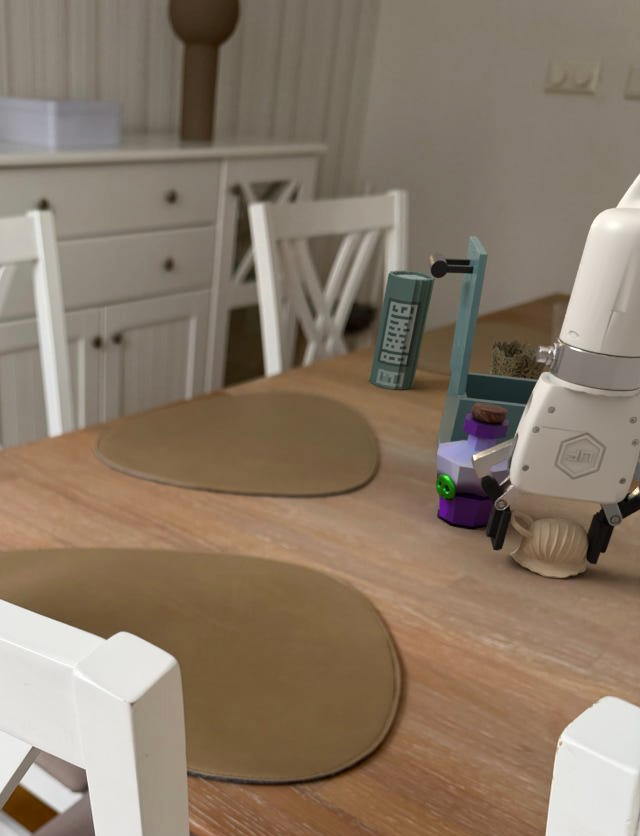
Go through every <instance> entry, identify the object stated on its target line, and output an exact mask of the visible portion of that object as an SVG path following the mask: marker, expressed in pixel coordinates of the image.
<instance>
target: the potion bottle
mask: <svg viewBox="0 0 640 836" xmlns="http://www.w3.org/2000/svg"><path fill="white" fill-rule="evenodd" d="M507 412H508V411H507V410H506V409H505V408H503V407H500V406H497V405H493V404H487V403H475V404H474V406H473V408H472V410H471V413H468V414H466V418H465V423H464V428H463V431H464V432H466V433H468V434H469V437H468V441H466V440H462V441H454V442H447V443H440V444H439V448H438V447H437V453H436V480H435V481H436V482H435V487H436V488H435V489H436V493H437V494H438V496H439V502H438V503H439V506H438V510H437V514H436V518H437V519H439V520H440V521H443V522H444V523H446V524H447V525H449V526H451V527H457V528H461V529H467V530H476V529H481V528H482V529H483V528H487V525H488V521H489V517H490V514H491V510H492V506H493V502H492V501H491V500H490V498H489V497H488V495H487V494H486V493H485V491H484V490H483V489H482V487H481V484H480V482H479V479H478V477H477V475H476V472H475V470H474V468H473V465H472V461H471V458H472V456H473V455H475V454H477V453H480V452H482V451H484V450H487V449H489V448H491V447H494V446H496V442H497V439H499V438H505V437H506V433H507V429H508V424H509V420H507V419H505V418H506V415H507ZM507 460H508V459H506V460H504V461H502V462H499V463H497V464H495V465H493V466H492V467H491V468H490V471H491V473H492V475H493V476H494V478H495V479H496V481H497V482H498V483H499V484H500V483H501V482H502V481H503V480H505V479H506V478H507V477H508V476H509V475H510V473H509V472H508V471H507Z"/></svg>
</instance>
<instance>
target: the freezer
mask: <svg viewBox="0 0 640 836" xmlns="http://www.w3.org/2000/svg"><path fill="white" fill-rule="evenodd" d="M537 381H538V380H535V379H526V378H517V377H508V376H499V375H490V373H481V372H480V373H479V372H472V371H468V377H467V383H466V389H465V395H457V392H456V388H455V384H454V380H453V377H452V373H451V374H450V379H449V383H448V387H447V391H446V396H445V401H444V405H443V410H442V414H441V418H440V423H439V428H438V433H437V437H436V445H437V449H438V448H439V444H440V443H447V442H454V441H462V440H466V441H468V437H469V434H468V433H466V432H464V431H463V428H464V423H465V418H466V414H468V413H471V410H472V408H473V406H474V404H475V403H487V404H493V405H497V406H500V407H503V408H505V409H506V410H507V411H508V412H507V415H506V418H505V419H507V420H509V424H508V429H507V433H506V437H505V438H499V439H497V442H496V445H498V444H501V443H503V442H505V441H508V440H510V439H512V438H514V437H515V434H516V431H517V428H518V425H519V423H520V420H521V418H522V415H523V412H524V410H525V407H526V405H527V403H528V400H529V398H530V396H531V394H532V391H533V389H534V387H535V385H536V383H537Z"/></svg>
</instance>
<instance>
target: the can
mask: <svg viewBox="0 0 640 836" xmlns="http://www.w3.org/2000/svg"><path fill="white" fill-rule="evenodd" d="M435 280H436V278H435V277H434V276H433V275H432V274H428V273H425V272H422V271H421V272H420V271H414V270H403V269H401V270H400V269H399V270H390V271H389V272H388V275H387V281H386V286H385V292H384V297H383V301H382V308H381V313H380V320H379V325H378V330H377V336H376V341H375V347H374V352H373V359H372V364H371V369H370V375H369V379H368V381H369V382H370V383H371V384H372V385H375V386H376V387H380V388H383V389H389V390H400V391H401V390H408V389H412V388H413V386H414V384H415V378H416V374H417V369H418V363H419V358H420V355H421V349H422V345H423V340H424V335H425V329H426V323H427V319H428V315H429V310H430V304H431V299H432V294H433V290H434V283H435Z"/></svg>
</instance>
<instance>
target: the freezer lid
mask: <svg viewBox="0 0 640 836" xmlns="http://www.w3.org/2000/svg"><path fill="white" fill-rule="evenodd" d="M488 256H489V255H488V253H487V251H486V248H485V247H484V246H483V243H482V242H481V240H480V239H479V238H478V236H477V235H470V236H469V238H468V244H467V251H466V258H453V257H452V258H450V257H449V258H448V257H445V255H444V254H443V253H442V252H433V253H432V254H431V255H430V256H429V258H428V259H427V260H428V261H427V263H428V267H429V270H430V275H432V276H433V277H435V279H441V278H443V277H445V276H446V275H447V274H463V276H462V277H463V278H462V282H461V283H462V284H461V290H460V297H459V303H458V310H457V314H456V315H457V316H456V322H455V328H454V334H453V341H452V348H451V355H450V361H449V369H450V372H451V373H452V377H453V380H454V384H455V388H456V392H457V395H465V389H466V383H467V377H468V372H470V371H469V370H470V365H471V358H472V353H473V352H472V351H473V346H474V340H475V335H476V328H477V323H478V317H479V310H480V304H481V298H482V291H483V287H484V280H485V275H486V274H485V273H486V268H487V261H488Z"/></svg>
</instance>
